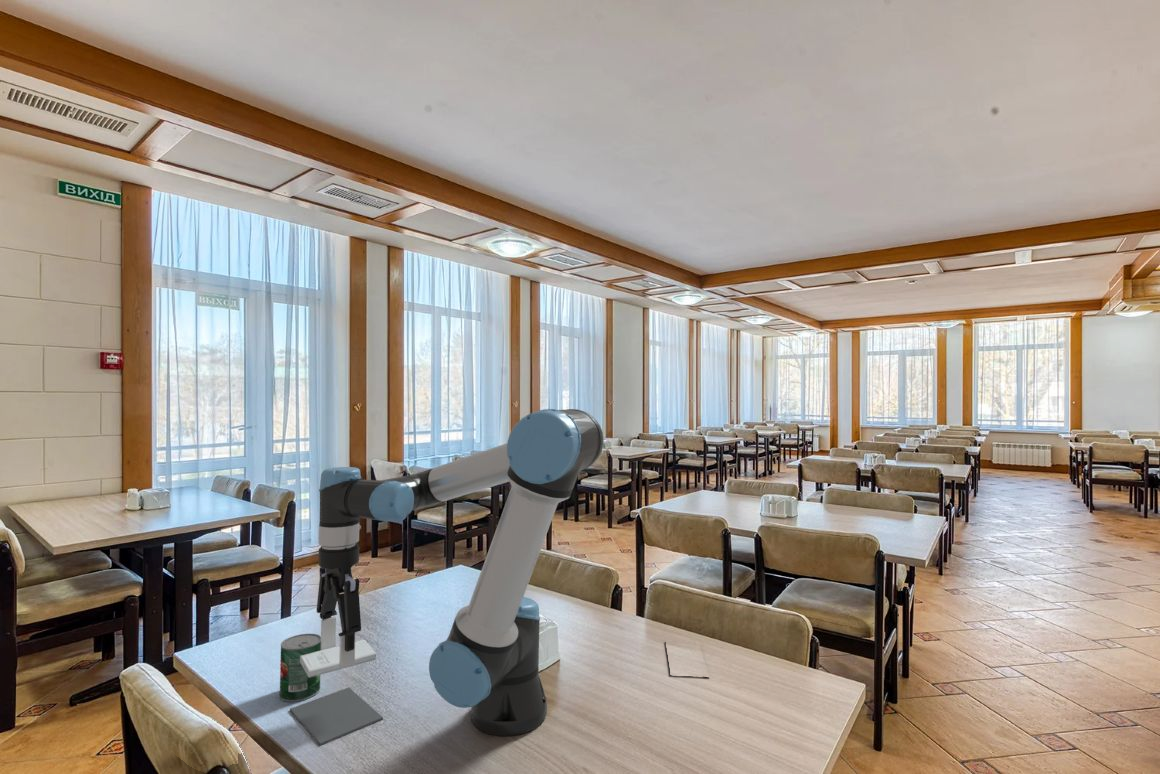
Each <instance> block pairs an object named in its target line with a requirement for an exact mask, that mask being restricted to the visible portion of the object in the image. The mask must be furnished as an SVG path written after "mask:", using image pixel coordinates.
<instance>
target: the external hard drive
mask: <svg viewBox="0 0 1160 774" xmlns="http://www.w3.org/2000/svg"><path fill="white" fill-rule="evenodd" d="M339 653H340V645H337V646H335V647H333V648H329V649H325V650H321V651H317V652H313V653H309V654H305V655H301V656H300V663H301V665H302V667H303V669H304V670H305V672H306V674H307V676H308V677H309V678H310V677H313V676H318V675H320V676H322V675H324V674H327V673H332V672H335V671H338V670H339V671H340V670H343V669H346V668H349V667H350V668H351V667H353V666H357V665H361V664H364V663H368V662H372V661H376V660H377V653H376V651H375V649H373V648H372V646H371V645H370V644H369V643H368V642H367V641H366V640H365V639H361V640H355V664H354V665H351V666H348V667H345V668H342V669H340V668H339Z"/></svg>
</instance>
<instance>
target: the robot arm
mask: <svg viewBox="0 0 1160 774" xmlns="http://www.w3.org/2000/svg"><path fill="white" fill-rule="evenodd" d="M604 443H605V440H604V432H603V429H602V428H601V425H600V424H599V422H598V420H597V419H596V418H595V417H594V416H593V415H591V414H590V413H588V412H586V411H584V410H582V409H577V408H576V409H575V408H574V409H573V408H568V409H555V408H547V409H546V408H545V409H541V410H537V411H534V412H531V413H529V414H527V415H525V416H524V417H522V418H521V419H520V420H518V422H516V424H515V425H514V426H513V428H512V429H511V431H510V433H509V435H508V438H507V443H503V444H500V445H497V446H495V447H491V448H488V449H486V450H483V451H479V452H476V453H474V454H471V455H468V456H465V457H462V458H459V459H457V460H453V461H450V462H447V463H445V464H441V465H437V466H436V467H433V468H429V469H427V470H423V471H420V472H417V473H413V474H407V475H402V476H397V477H391V478H386V479H381V480H380V479H379V480H375V479H363V478H362V476H361V469H360V468H358V467H353V466H352V467H351V466H338V467H330V468H329V467H328V468H325V469H324V470H322V472H321V473H320V481H319V489H318V492H319V524H318V545H319V546H320V547H319V548H318V565H319V581H318V592H317V593H318V594H317V599H316V600H317V601H316V602H317V603H316V613H317V614H319V618H320V619H321V620H320V636H321V650H325V649H329V648H333V647H337V646H336V641H337V639H336V638H337V635H336V634H337V633H336V631H337V617H336V616H337V615H338V613H339V620H340V627H341V632H339V633H338V636H339V646H340V653H339V668H340V669H339V670H343V669H346V668H345V667H347V668H349V667H348V666H350V667H352V666H351V665H354V664H355V642H356V633H358V632H362V622H361V618H362V617H361V606H360V603H361V602H360V579H359V578H355V579H354V577H353V574H352V568H353V566H355V565H357V564H358V562H360V545H359V544H358V543H359V541H360V530H361V529H362V525H360V519H367V520H375V521H380V522H384V523H385V522H386V523H387V522H388V523H390V522H400V521H403V520H405V519H406V518H407V516H408V515H410V514H411V513H412V511H418V510H419V509H421V510H422V509H424V508H425V509H426V508H429V507H433V506H436V505H437V504H441V503H443V502H447V501H450V500H452V499H455V498H456V499H457V498H459V497H463V496H466V495H469V494H472V493H476V492H479V491H483V490H485V489H486V490H487V489H489V488H492V487H495V486H498V485H502V484H505V483H509V484H510V486H511V487H510V491H509V493H508V496H507V499H506V502H505V504H504V507H503V510H502V513H501V516H500V518H499V521H498V524H497V526H496V529H495V532H494V534H493V537H492V540H491V543H490V546H489V547H488V548H489V549H488V552H487V554H486V557H485V560H484V563H483V565H482V568H481V571H480V573H479V577H478V579H477V580H476V585H475V587H474V589H473V590H474V591H473V593H472V596H471V599H470V601H469V604H468V605H466V606H463V607H461V608H460V609H459V610H458V611H457V612H456V615H455V618H454V620H453V623H452V626H451V627H450V631H449V634H448V637H447V638H446V639H445V640H444V641H442V642H440V643H439V644H438V645H437V646H436V647H435V649H434V650H433V651H432V652H431V655H430V657H429V662H428V663H429V665H428V671H429V672H428V673H429V677H430V681H431V682H432V683H433V686H434V689H435V690H436V692H437V693H438V694H439V696H440V697H441V698H442V700H444V701H445V702H447V703H448V704H450V705H451V706H454V707H457V708H463V709H466V708H471V709H470V710H471V711H470V712H471V713H470V715H471V717H470V718H471V722H472V724H473V725H474V727H475V728H477V729H478V730H479V731H482V732H483V733H484V734H485V733H486V734H488V735H493V736H499V735H500V736H499V737H501V735H502V737H509V736H510V737H511V736H518V735H522V734H526V733H528V731H529V732H531V731H533V730H535V729H536V728H538V727H539V726H541V725H542V724H543V723H544V721H545V720H546V718H545V717H547V715H546V714H548V713H547V712H548V711H547V710H548V702H547V698H546V694H545V691H544V687H543V685H542V680H541V677H540V674H539V669H540V668H539V666H540V663H539V661H540V659H539V657H540V621H541V617H540V607H539V604H538V603H537V601H535V600H534V599H532V598H530V597H527V596H524V595H525V594H526V590H527V588H528V585H529V583H530V580H531V578H532V575H533V572H534V569H535V567H536V564H537V562H538V558H539V556H540V553H541V550H542V548H543V545H544V542H545V539H546V537H547V533H548V532H549V529H550V526H551V523H552V522H553V521H552V520H553V518H554V515H555V513H556V510H557V507H558V505H559V504H560V503H561V502H563V501H566V500H569V499H570V498H571V495H572V492H573V490H574V487H575V484H576V481H577V478H578V477H579V473H580V472H581V471H584V470H586V469H589V468H590V467H591V466H592V465H594V464H595V463H596V462H597V461H598V460H599V457H600V456H601V454H602V452H603V448H604ZM337 606H338V607H337ZM336 607H337V608H338V612H337V611H336ZM354 666H355V665H354ZM342 668H343V669H342ZM544 719H545V720H544ZM506 735H507V736H506Z"/></svg>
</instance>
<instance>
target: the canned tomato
mask: <svg viewBox="0 0 1160 774" xmlns="http://www.w3.org/2000/svg"><path fill="white" fill-rule="evenodd" d="M317 651H321V635H319V634H316V633H301V634H297V635H291V636H290V637H288V638H286V639H284V640H283V641H282V642H281V643H280V669H279V673H280V675H279V680H280V681H279V699H280V700H281V701H283V702H287V703H294V702H295V703H297V702H301V701H305V700H308V699H311V698H313V697H314V696H316V695H317V694H319V692H320V691H321V675H318V676H313V677H310V678H309V677H308V676H307V674H306V672H305V670H304V669H303V667H302V665H301V663H300V656H301V655H305V654H309V653H313V652H317Z"/></svg>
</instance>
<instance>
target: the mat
mask: <svg viewBox="0 0 1160 774" xmlns="http://www.w3.org/2000/svg"><path fill="white" fill-rule="evenodd" d="M289 712H291V714H292V715H293V716H294V717H295V718H296V719H297V720H298V722H299V723H300V724H301V725H302V726H303V727H304V728H305V729H306V731H307V732H308V733H309V734H310V736H311V737H313V739H314V740H315V741H316V742H317V744H318V745H319V746H322V745H325V744H327V743H330V742H332V741H335V740H337V739H340V738H342V737H344V736H346V735H349V734H352V733H354V732H356V731H358V730H362V729H363V728H366V727H368V726H371V725H373V724H375V723H377V722H380V721H383V719H384V716H382V715H381V714H380V713H379V712H377V711H376V710H375V709H374V708H373V707H372V706H371V705H369V703H367V701H365V700H364V699H363V698H362V697H361V696H360V695H358V694H357V693H356V692H355V691H354V690H353V689H351V688H350V687H346V688H344V689H341V690H338V691H335V692H332V693H330V694H327V695H324V696H321V697H319V698H315V699H313V700H310V701H307V702H304V703H302V704H298V705H296V706H294V707H291V708H289Z"/></svg>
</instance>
